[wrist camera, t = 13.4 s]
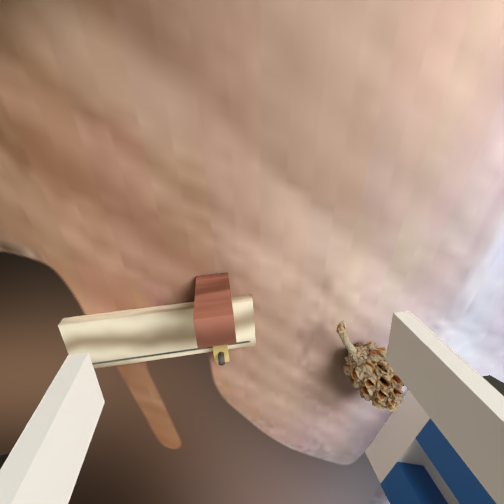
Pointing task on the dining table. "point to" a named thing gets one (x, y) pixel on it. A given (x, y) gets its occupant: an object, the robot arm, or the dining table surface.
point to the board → (148, 333)
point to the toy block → (421, 461)
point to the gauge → (214, 315)
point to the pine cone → (371, 373)
